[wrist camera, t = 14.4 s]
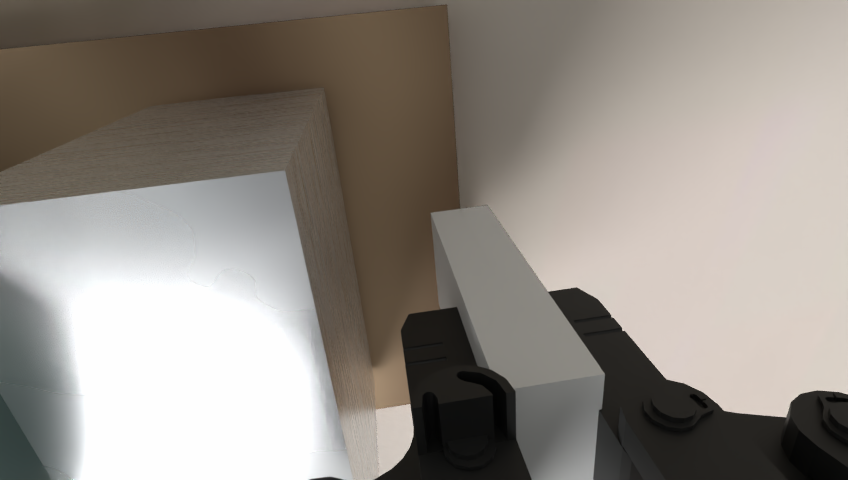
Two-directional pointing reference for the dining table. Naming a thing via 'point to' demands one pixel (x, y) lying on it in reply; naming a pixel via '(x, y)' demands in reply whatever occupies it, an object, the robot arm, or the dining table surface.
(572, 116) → the dining table surface
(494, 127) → the dining table surface
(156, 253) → the bookend
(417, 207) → the caddy
